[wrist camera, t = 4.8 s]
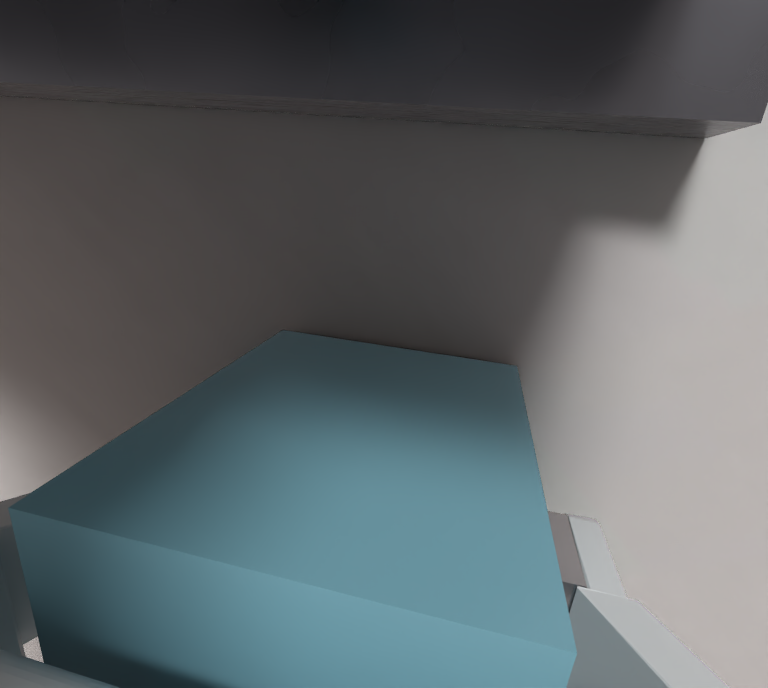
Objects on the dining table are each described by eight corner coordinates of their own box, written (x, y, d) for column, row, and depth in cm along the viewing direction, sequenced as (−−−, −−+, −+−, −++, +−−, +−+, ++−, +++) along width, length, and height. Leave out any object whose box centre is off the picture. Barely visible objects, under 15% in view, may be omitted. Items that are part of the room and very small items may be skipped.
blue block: (517, 365, 9) (575, 652, 3) (469, 599, 11) (457, 1025, 5) (283, 330, 10) (8, 507, 4) (279, 552, 12) (94, 876, 6)
